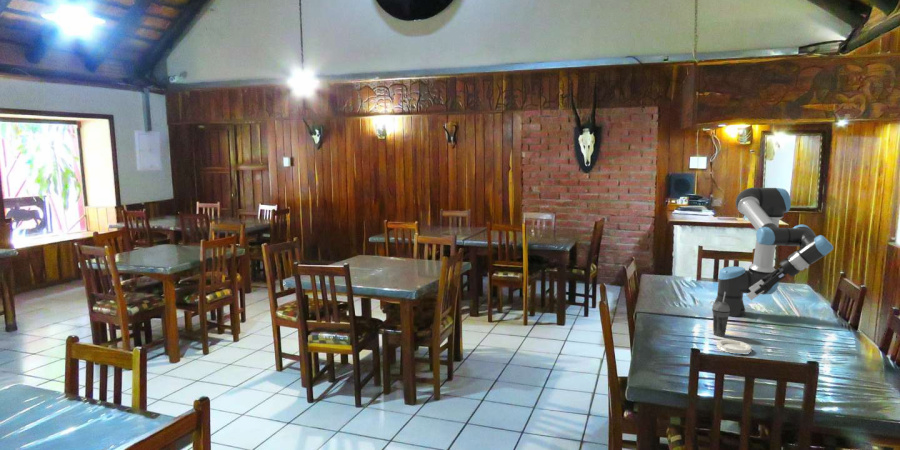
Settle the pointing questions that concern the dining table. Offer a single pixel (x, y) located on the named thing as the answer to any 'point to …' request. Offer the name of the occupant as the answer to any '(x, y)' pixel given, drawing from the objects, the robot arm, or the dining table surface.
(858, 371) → the dining table surface
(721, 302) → the beverage cup
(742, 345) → the plate
